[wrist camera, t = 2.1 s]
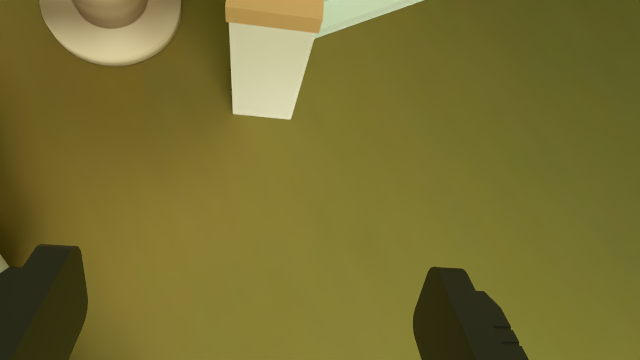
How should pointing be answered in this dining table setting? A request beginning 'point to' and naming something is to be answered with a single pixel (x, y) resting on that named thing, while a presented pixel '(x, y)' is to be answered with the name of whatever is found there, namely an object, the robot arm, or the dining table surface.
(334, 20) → the ridged board
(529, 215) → the dining table surface
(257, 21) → the block
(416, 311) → the robot arm
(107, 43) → the bobbin
